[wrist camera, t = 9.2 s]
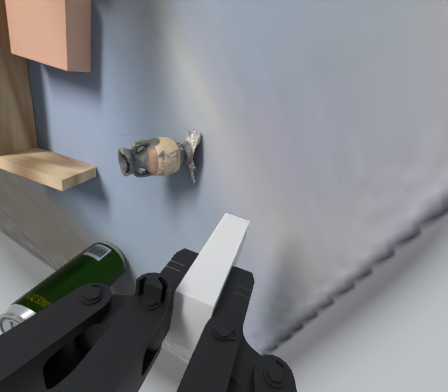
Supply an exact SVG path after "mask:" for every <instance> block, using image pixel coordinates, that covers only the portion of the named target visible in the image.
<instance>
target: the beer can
mask: <svg viewBox="0 0 448 392" xmlns="http://www.w3.org/2000/svg"><path fill="white" fill-rule="evenodd" d="M125 266H126V261H125V257H124V255H123V253H122V252H121V251H120V250H119V249H118V248H117V247H116V246H115V245H113V244H111V243H109V242H98V243H95V244H92V245H91V246H90V247H88V248H87V249H85V250H84V251H83V252H81V253H80V254H79V255H77V256H76V257H75V258H73V259H72V260H71V261H69V262H68V263H66V264H65V265H64V266H62V267H61V268H60V269H58V270H57V271H56V272H54V273H53V274H52V275H50V276H49V277H47V278H46V279H45V280H44V281H42V282H41V283H39V284H38V285H37V286H35V287H34V288H33V289H31V290H30V291H29V292H27V293H26V294H24V295H23V296H22V297H21V298H19V299H18V300H16V301H15V302H14V303H12V304H11V305H10V306H9V307H8V308H7V310H6V311H5V313H3V314H2V315H0V331H1V333H2V334H3V333H5V332H6V331H8V330H10V329H11V328H13V327H15V326H16V325H18V324H20V323H21V322H23V321H25V320H26V319H28V318H30V317H31V316H33V315H35V314H36V313H38V312H39V311H41V310H43V309H44V308H46V307H48V306H49V305H51V304H53V303H54V302H56V301H58V300H59V299H61V298H63V297H64V296H66V295H68V294H69V293H71V292H73V291H74V290H76V289H77V288H79V287H81V286H83V285H86V284H89V283H103V284H105V285H107V286H108V287H110V286H111V285H112V284H113V283H114V282H115V281H116V280H117V279H118V278H119V277H120V276H121V275H122V274H123V271H124V269H125Z"/></svg>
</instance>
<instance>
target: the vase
mask: <svg viewBox="0 0 448 392" xmlns="http://www.w3.org/2000/svg"><path fill="white" fill-rule="evenodd" d="M185 129H186V128H185ZM128 131H129V130H128ZM187 131H189V130H187ZM189 132H190V131H189ZM188 134H189V133H188ZM123 135H124V134H123ZM127 135H129V134H127ZM120 136H122V135H120ZM135 136H136V135H135ZM188 136H189V135H188ZM200 140H201V132H200V133H199V134H197V132H196V131H194V132H193V133H192V135H191V137H188V138H186V141H184V142H183V143H182V145H181V144H180V143H179V142H178V141H175V140H174V139H171V138H167V137H156V138H152V139H150V140H139V141H135V142H134V143H133V144H132V146H131V149H130V150H129V149H126V148H119V150H118V159H119V164H120V168H121V171H122V174H123V175H124V176H128V175H130V174H132V173H133V174H134V175H135V176H136V177H146V176H151V175H155V176H167V175H170V174H173V173H174V172H176V171H177V170H178V169H179V168H180V167H181V166H182V164H183V163H186V164H188V166H189V168H190V170H189V171H190V173H191V177H190V178H193V184H194V183H195V182H196V181H195V179H194V178H195V175H194V169H195V172H196V168H197V167H194V165H195V164H194V162H193V154H194V151H195V147H196V146H197V144H198V145H199V143H200ZM141 146H143V148H142V150H140V148H141ZM191 167H192V168H191ZM139 168H144V169H146V170H145V171H142V172H140V171H141V170H140V169H139ZM186 170H187V169H186ZM186 170H185V173H188V172H186ZM181 176H182V175H181ZM184 177H185V176H184ZM185 178H187V177H185ZM188 180H189V178H188Z"/></svg>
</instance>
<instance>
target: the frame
mask: <svg viewBox="0 0 448 392" xmlns="http://www.w3.org/2000/svg"><path fill="white" fill-rule="evenodd" d="M0 168H1V169H4V170H7V171H9V172H12V173H15V174H17V175H20V176H23V177H26V178H28V179H31V180H34V181H36V182H39V183H42V184H45V185H47V186H50V187H53V188H55V189H58V190H61V191H65V190H67V189H69V188H71V187H74V186H76V185H78V184H81V183H83V182H85V181H88V180H90V179H92V178H95V177H96V167H95V166H92V165H89V164H86V163H83V162H80V161H77V160H74V159H71V158H68V157H65V156H62V155H59V154H56V153H54V152H51V151H48V150H45V149H42V148H39V147H38V145H37V137H36V129H35V120H34V112H33V104H32V96H31V87H30V79H29V71H28V63H27V58H25V57H22V56H18V55H15V54H12V53H11V46H10V37H9V29H8V21H7V13H6V4H5V0H0Z"/></svg>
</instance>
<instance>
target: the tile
mask: <svg viewBox="0 0 448 392" xmlns="http://www.w3.org/2000/svg"><path fill="white" fill-rule="evenodd" d="M5 4H6V13H7V21H8V29H9V37H10V46H11V53H12V54H15V55H18V56H22V57H25V58H28V59H31V60H34V61H37V62H40V63H44V64H47V65H50V66H53V67H56V68H59V69H62V70H65V71H75V72H91V0H5Z"/></svg>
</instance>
